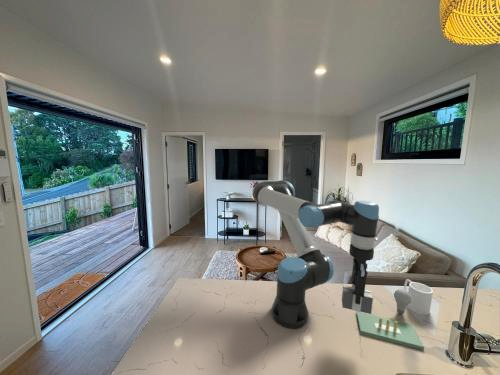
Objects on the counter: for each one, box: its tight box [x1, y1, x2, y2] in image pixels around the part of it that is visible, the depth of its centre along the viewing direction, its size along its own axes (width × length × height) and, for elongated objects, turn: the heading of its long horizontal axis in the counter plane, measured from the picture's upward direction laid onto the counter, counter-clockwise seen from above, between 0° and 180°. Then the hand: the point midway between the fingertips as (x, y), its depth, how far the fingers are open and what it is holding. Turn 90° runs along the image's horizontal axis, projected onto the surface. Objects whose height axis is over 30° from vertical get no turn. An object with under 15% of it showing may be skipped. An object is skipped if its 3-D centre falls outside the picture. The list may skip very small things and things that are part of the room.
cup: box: [403, 278, 434, 316], centre depth 97 cm, size 8×12×10 cm
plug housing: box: [341, 285, 374, 315], centre depth 77 cm, size 9×4×6 cm, turn 71°
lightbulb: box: [393, 288, 411, 315], centre depth 91 cm, size 6×6×11 cm
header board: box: [356, 311, 425, 351], centre depth 83 cm, size 20×11×5 cm, turn 71°
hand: (355, 305), depth 78 cm, fingers closed on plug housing, 4 cm apart
